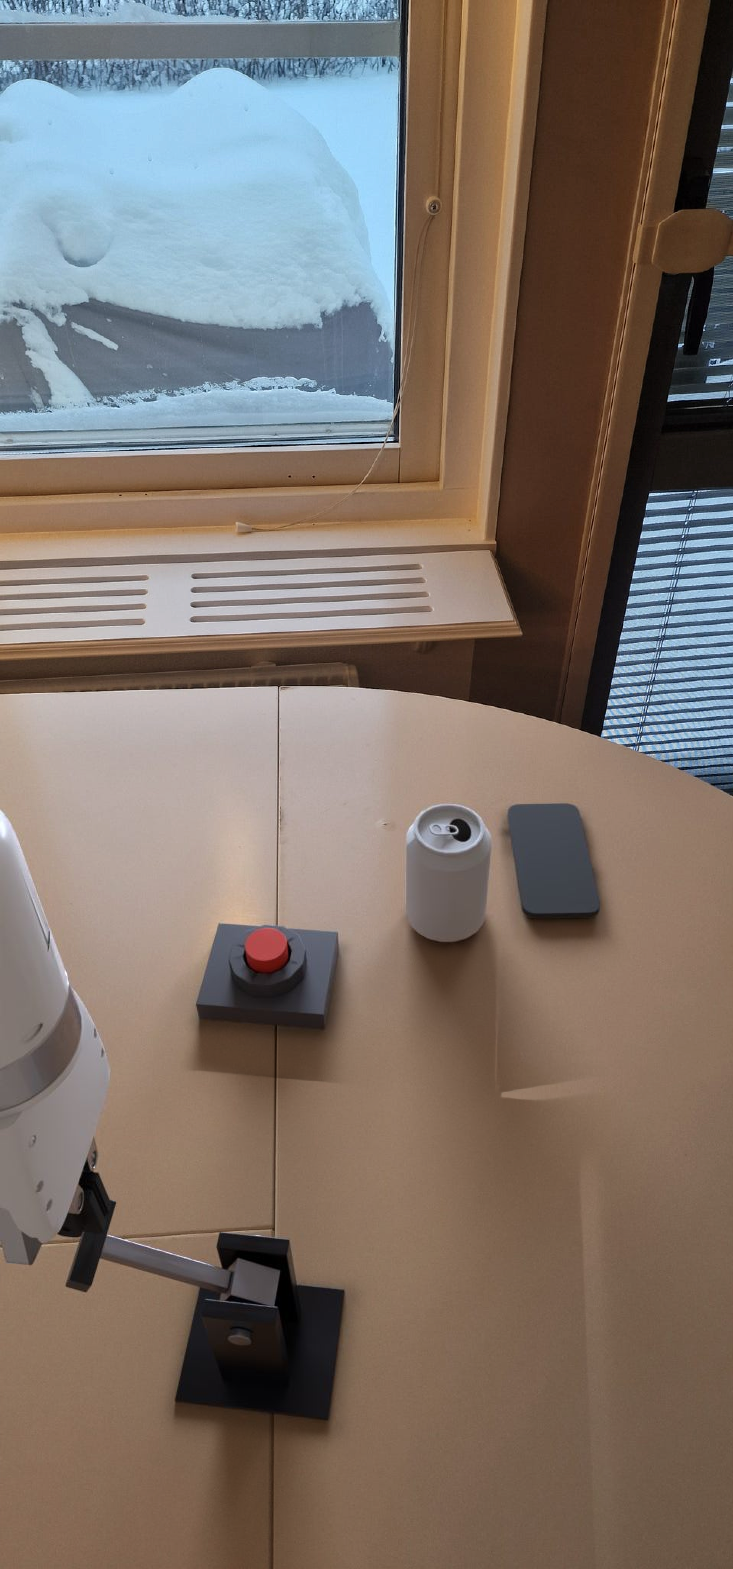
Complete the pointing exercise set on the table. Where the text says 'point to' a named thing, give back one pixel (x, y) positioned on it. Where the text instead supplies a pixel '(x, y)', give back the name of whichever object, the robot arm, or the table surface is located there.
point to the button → (266, 950)
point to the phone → (552, 861)
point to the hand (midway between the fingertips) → (81, 1216)
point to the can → (447, 872)
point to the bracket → (263, 1340)
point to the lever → (172, 1268)
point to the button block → (269, 979)
